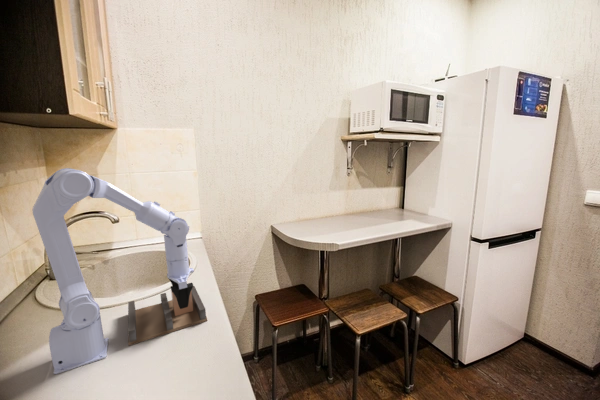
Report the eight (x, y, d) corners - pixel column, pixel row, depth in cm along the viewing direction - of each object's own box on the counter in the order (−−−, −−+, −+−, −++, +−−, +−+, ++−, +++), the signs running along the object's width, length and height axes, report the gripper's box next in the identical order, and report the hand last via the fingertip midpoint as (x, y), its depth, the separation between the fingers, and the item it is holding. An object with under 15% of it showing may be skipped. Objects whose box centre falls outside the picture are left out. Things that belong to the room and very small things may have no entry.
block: (174, 316, 80) (172, 293, 79) (173, 309, 83) (170, 287, 82) (193, 310, 82) (191, 288, 81) (190, 304, 86) (188, 283, 84)
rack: (128, 345, 69) (126, 331, 68) (129, 314, 83) (127, 302, 82) (207, 320, 79) (206, 308, 78) (195, 296, 92) (195, 285, 92)
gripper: (197, 263, 76) (201, 308, 78) (187, 247, 88) (191, 287, 90) (168, 269, 72) (173, 316, 74) (162, 252, 84) (167, 293, 87)
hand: (181, 301), depth 82 cm, fingers open, 7 cm apart
